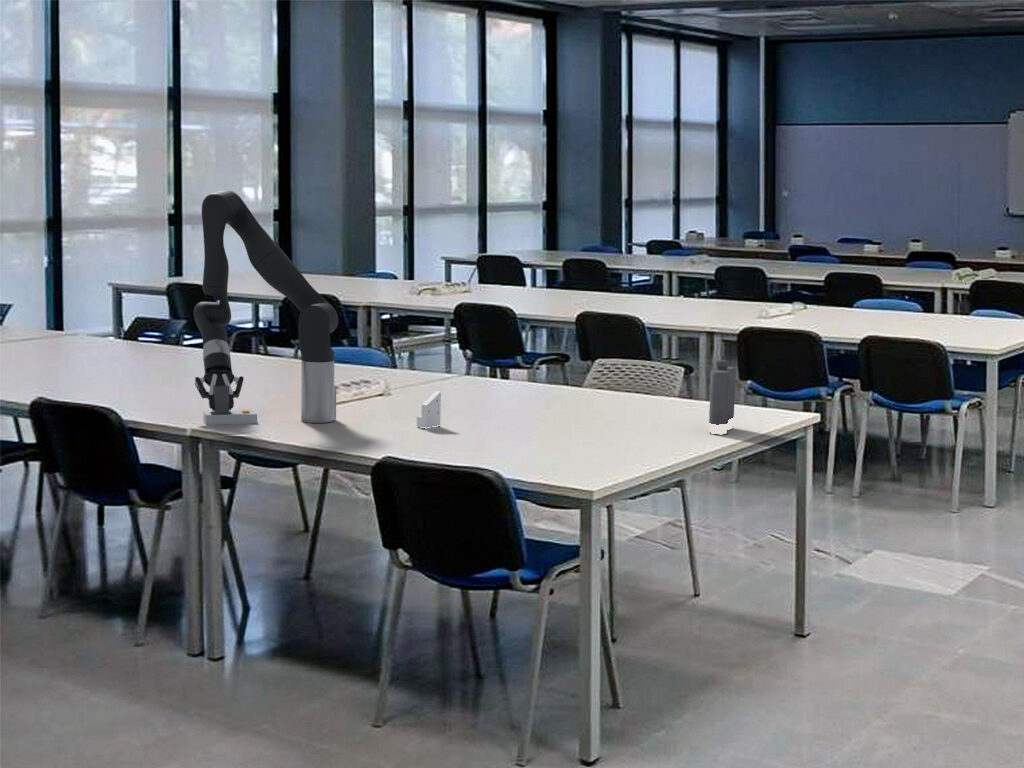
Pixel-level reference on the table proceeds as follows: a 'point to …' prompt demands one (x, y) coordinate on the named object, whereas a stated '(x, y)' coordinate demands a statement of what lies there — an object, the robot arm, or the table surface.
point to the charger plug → (221, 399)
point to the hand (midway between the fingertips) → (222, 408)
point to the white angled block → (430, 411)
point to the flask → (722, 393)
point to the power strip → (230, 417)
